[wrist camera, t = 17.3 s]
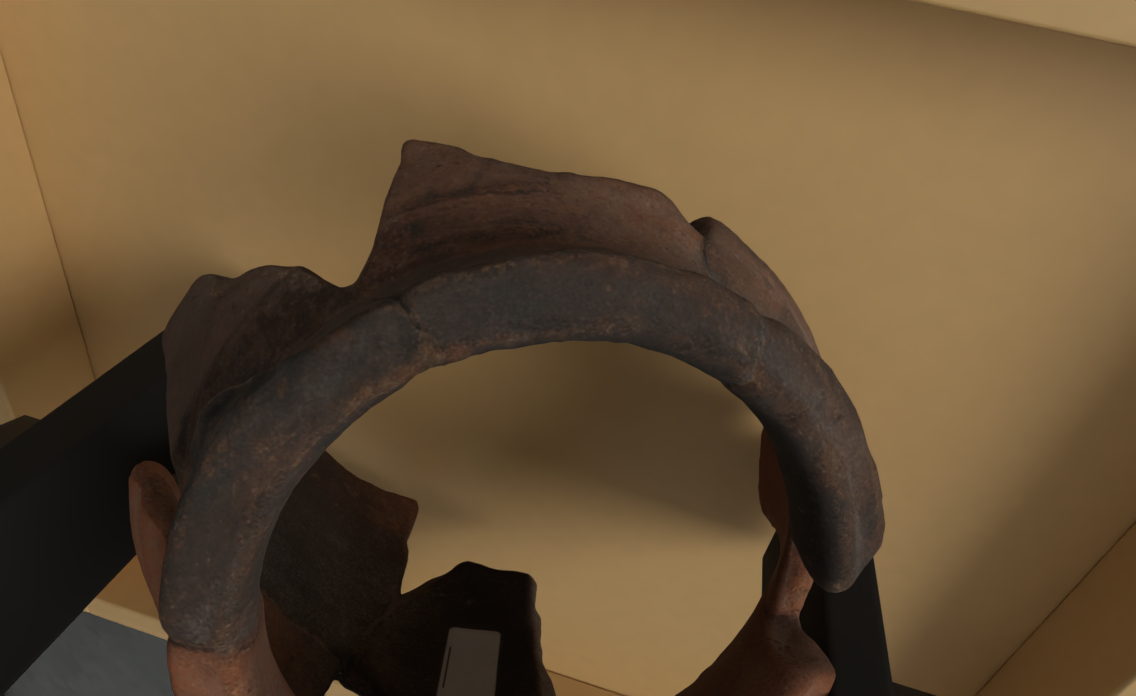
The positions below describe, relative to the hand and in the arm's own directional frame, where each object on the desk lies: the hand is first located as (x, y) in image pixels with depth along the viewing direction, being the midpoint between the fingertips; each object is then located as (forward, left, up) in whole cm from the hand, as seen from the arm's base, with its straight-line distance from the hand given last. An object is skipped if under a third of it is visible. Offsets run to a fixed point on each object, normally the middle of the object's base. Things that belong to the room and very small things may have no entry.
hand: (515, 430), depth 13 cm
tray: (0, 0, -1) cm, 1 cm away
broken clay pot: (0, 0, 0) cm, 0 cm away
